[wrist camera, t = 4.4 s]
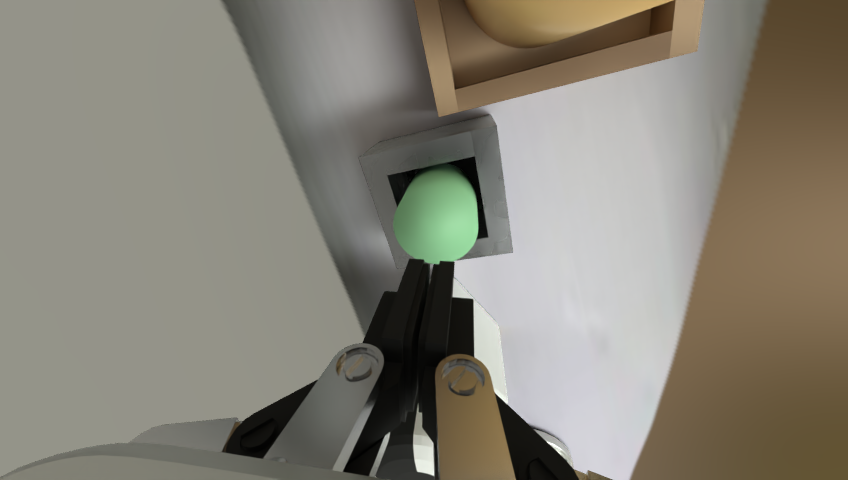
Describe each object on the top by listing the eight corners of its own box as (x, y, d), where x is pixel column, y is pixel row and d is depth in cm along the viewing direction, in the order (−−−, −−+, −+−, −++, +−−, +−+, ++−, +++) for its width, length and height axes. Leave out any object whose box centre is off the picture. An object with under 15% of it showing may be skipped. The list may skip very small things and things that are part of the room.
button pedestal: (505, 222, 20) (513, 252, 17) (408, 237, 22) (397, 268, 18) (490, 114, 17) (496, 125, 14) (378, 142, 19) (358, 157, 15)
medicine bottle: (435, 355, 28) (415, 523, 17) (382, 307, 26) (324, 466, 15) (500, 324, 25) (523, 503, 15) (446, 267, 23) (428, 429, 12)
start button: (481, 222, 18) (484, 257, 14) (417, 232, 19) (406, 268, 15) (469, 156, 16) (470, 179, 13) (399, 171, 17) (382, 196, 13)
